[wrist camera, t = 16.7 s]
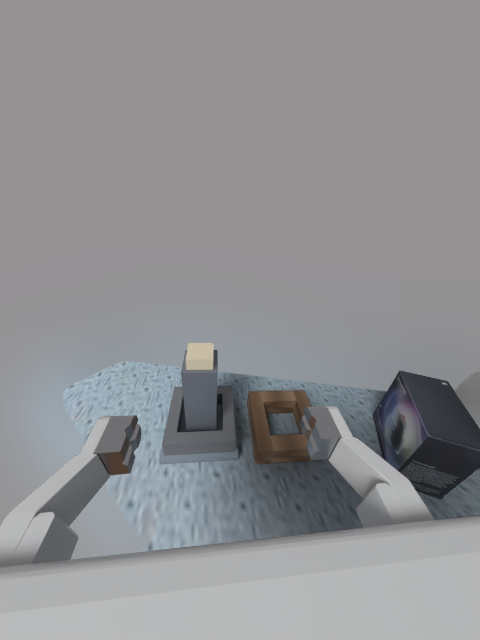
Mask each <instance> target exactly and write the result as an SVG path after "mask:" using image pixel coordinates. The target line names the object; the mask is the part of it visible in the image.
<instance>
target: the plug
mask: <svg viewBox="0 0 480 640" xmlns="http://www.w3.org/2000/svg"><path fill="white" fill-rule="evenodd" d="M217 365H218V364H217V350H214V343H189V344H188V349H187V350H186V351H185V356H184V361H183V366H182V371H181V377H182V388H183V398H184V409H185V420H186V430H187V432H199V431H216V412H217V373H218V369H217V368H218V366H217Z"/></svg>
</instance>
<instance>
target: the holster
mask: <svg viewBox="0 0 480 640" xmlns="http://www.w3.org/2000/svg"><path fill="white" fill-rule="evenodd" d="M247 407H248V414H249V421H250V428H251V435H252V443H253V450H254V457H255V464H267V463H283V462H299V461H315V460H311V457H310V454H309V451H308V448H307V443H308V440H307V439H306V438H304V437H303V434H302V430H301V418H302V417H303V416H304V415H305V414H304V409H305V408H306V407H311V404H310V402H309V400H308V398H307V395H306V393H305V391H304V390H296V391H253V392H249V393H248V401H247ZM270 413H293V415H294V418H295V421H296V424H297V426H298V429H299V432H300V434H293V435H272V436H270V431H269V427H268V422H267V417H266V414H270Z"/></svg>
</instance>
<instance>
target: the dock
mask: <svg viewBox="0 0 480 640" xmlns="http://www.w3.org/2000/svg"><path fill="white" fill-rule="evenodd" d="M223 460H238V446H237V433H236V421H235V408H234V395H233V394H232V387H231V386H217V412H216V431H199V432H187V430H186V420H185V409H184V398H183V388H182V387H174V391H173V396H172V401H171V405H170V410H169V415H168V419H167V424H166V428H165V433H164V438H163V442H162V450H161V454H160V459H159V461H160V464H172V463H189V462H206V461H223Z"/></svg>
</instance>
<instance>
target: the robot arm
mask: <svg viewBox="0 0 480 640" xmlns="http://www.w3.org/2000/svg"><path fill="white" fill-rule="evenodd" d="M454 391H455V393H456V394H457V396H458V397H459V399H460V400H461V402H462V403H463V405H464V406H465V408H466V409H467V410H468V412H469V413H470V415H471V416H472V418H473V419H474V421H475V422H476V424H477V425H478V427H479V428H480V371H479V370H477V371H475V372H473V373H472V374H471V375H470V376H469V377H468V378H467V379H465V380H464V381H463V382H462V383H461V384H460V385H459V386H458V387H457V388H456V389H455V390H454ZM304 414H305V415H304V416H303V417H302V418H301V430H302V434H303V437H304V438H306V439H307V440H308V443H307V448H308V451H309V454H310V457H311V460H327V459H329V461H330V463H331V464H332V465H333V466H334V467H335V468H336V469H337V470H338V472H339V473H340V474H341V475H342V476H343V477H344V478H345V479H346V481H347V482H348V483H349V484H350V485H351V486H352V487H353V488H354V490H355V491H356V492H357V493H358V494H359V495H360V496H361V497H362V499H363V500H362V501H361V503H360V504H359V505H358V506H357V508H356V512H357V514H358V517H359V519H360V522H361V524H362V526H363V528H357V529H348V530H339V531H330V532H321V533H311V534H302V535H293V536H284V537H275V538H265V539H256V540H247V541H238V542H229V543H220V544H210V545H201V546H192V547H183V548H174V549H164V550H155V551H146V552H137V553H128V554H119V555H109V556H100V557H91V558H82V559H74V560H70V559H71V556H72V553H73V551H74V548H75V546H76V543H77V541H78V535H77V534H76V533H75V532H74V531H73V530H72V529H71V528H70V527H69V526H70V524H71V523H72V522H73V521H74V520H75V518H76V517H77V516H78V515H79V514H80V512H81V511H82V510H83V509H84V508H85V506H86V505H87V504H88V503H89V502H90V500H91V499H92V498H93V497H94V495H95V494H96V493H97V492H98V491H99V489H100V488H101V487H102V486H103V485H104V483H105V482H106V481H107V480H108V478H109V477H110V476H109V475H119V474H129V473H131V470H132V466H133V463H134V460H135V455H134V451H135V450H136V449H137V448H138V447H139V443H140V439H141V427H140V425H139V424H137V422H138V418H137V416H136V415H135V416H106V417H100V418H99V419H98V420H97V422H96V424H95V426H94V428H93V430H92V432H91V434H90V435H89V437H88V439H87V441H86V443H85V445H84V447H83V449H82V451H81V453H80V455H76V456H74V457H73V458H72V459H71V460H70V461H69V462H67V463H66V464H65V465H64V466H63V467H62V468H61V469H59V470H58V471H57V472H56V473H55V474H54V475H53V476H51V477H50V478H49V479H48V480H47V481H46V482H45V483H44V484H42V485H41V486H40V487H39V488H38V489H37V490H35V491H34V492H33V493H32V494H31V495H30V496H29V497H27V498H26V499H25V500H24V501H23V502H22V503H20V504H19V505H18V506H17V507H16V508H15V509H14V510H13V511H11V512H10V513H9V514H8V515H7V517H6V518H5V520H4V522H3V523H2V525H1V526H0V640H480V515H477V516H467V517H458V518H449V519H440V520H435V519H434V518H433V516H432V515H431V513H430V512H429V510H428V509H427V507H426V505H425V504H424V502H423V501H422V499H421V498H420V496H419V495H418V493H417V492H416V490H415V489H414V487H413V485H412V484H411V482H410V481H409V480H408V479H407V478H406V477H405V476H403V475H402V474H401V473H400V472H398V471H397V470H396V469H395V468H394V467H392V466H391V465H390V464H389V463H387V462H386V461H385V460H384V459H382V458H381V457H380V456H379V455H378V454H376V453H375V452H374V451H373V450H371V449H370V448H369V447H368V446H366V445H365V444H364V443H363V442H362V441H360V440H359V439H358V438H354V437H353V435H352V433H351V432H350V430H349V428H348V426H347V424H346V423H345V421H344V419H343V417H342V415H341V413H340V412H339V410H338V408H337V407H336V406H318V407H306V408H305V409H304Z"/></svg>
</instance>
